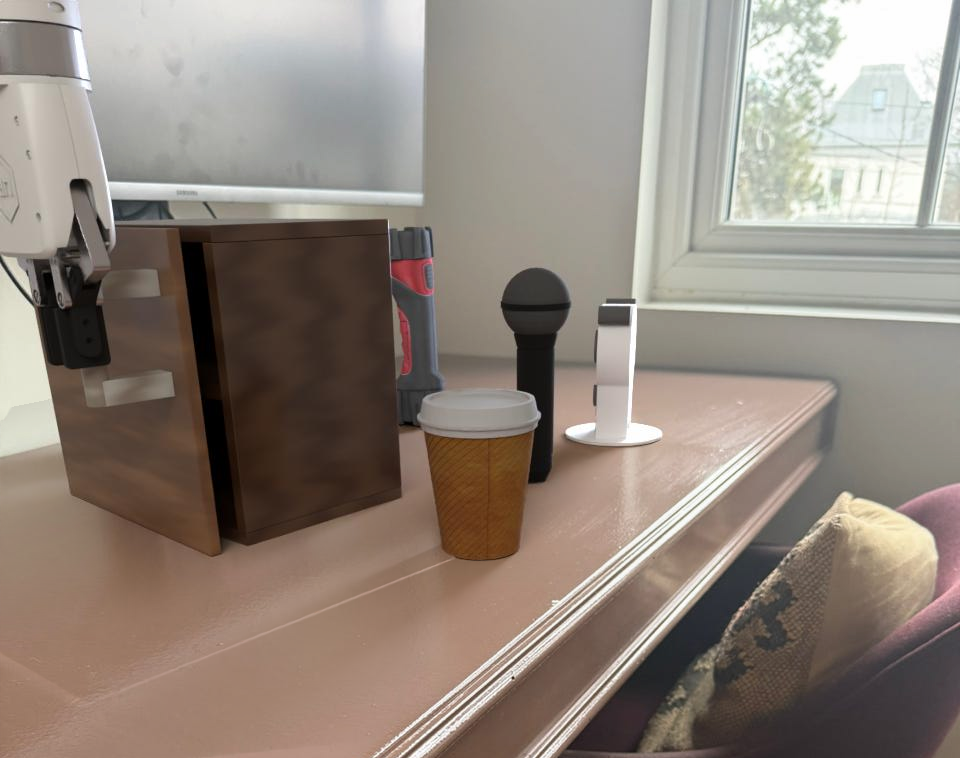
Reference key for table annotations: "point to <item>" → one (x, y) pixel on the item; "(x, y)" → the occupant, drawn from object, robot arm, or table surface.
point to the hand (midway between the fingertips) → (79, 363)
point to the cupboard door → (141, 399)
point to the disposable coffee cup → (479, 467)
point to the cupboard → (292, 367)
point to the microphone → (537, 349)
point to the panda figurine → (614, 381)
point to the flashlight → (415, 318)
